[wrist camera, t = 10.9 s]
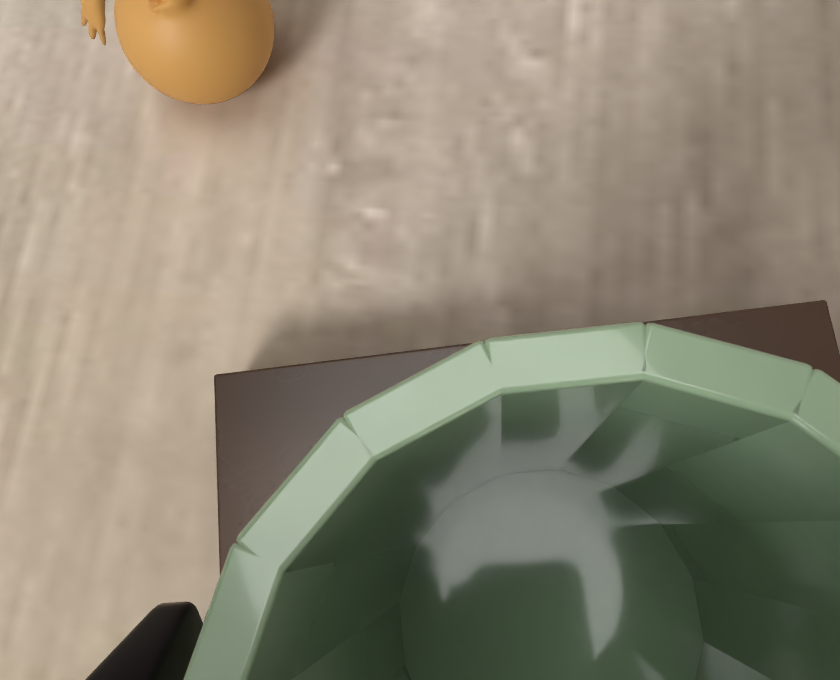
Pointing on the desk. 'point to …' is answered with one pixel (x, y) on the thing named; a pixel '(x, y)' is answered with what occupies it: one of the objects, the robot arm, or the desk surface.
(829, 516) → the pencil cup
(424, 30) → the desk surface
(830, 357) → the walnut board
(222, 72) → the figurine
